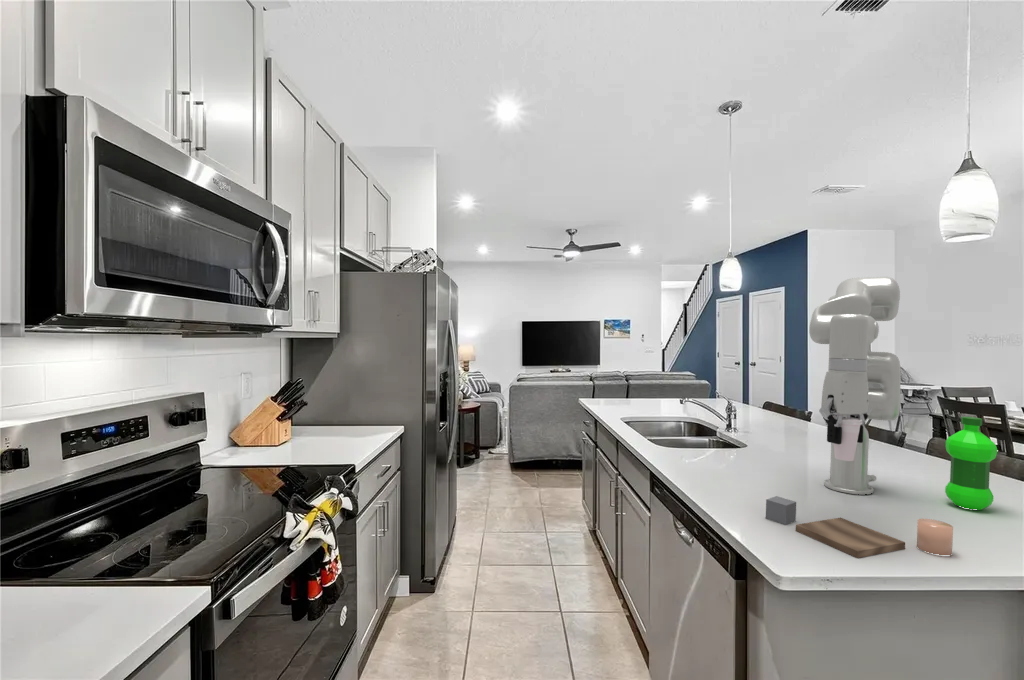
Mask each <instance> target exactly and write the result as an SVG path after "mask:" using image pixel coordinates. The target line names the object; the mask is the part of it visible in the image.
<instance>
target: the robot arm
mask: <svg viewBox="0 0 1024 680" xmlns="http://www.w3.org/2000/svg"><path fill="white" fill-rule="evenodd" d="M900 290H901V289H900V286H899V284H898V282H897V281H896V279H894V278H892V277H890V276H876V277H875V276H874V277H872V276H871V277H869V276H868V277H851V278H847V279H845V280H843V281H841V282H840V283H839V284H838V285H837V287H836V290H835V294H834V295H833V296H831V297H829V298H828V301H826V302H823V303H821V304H819V305H818V306H816V307H815V308H814V310H813V312H812V315H811V318H810V322H809V331H808V332H809V333H808V334H809V336H810V339H811V340H812V342H814V343H816V344H819V345H828V348H829V349H828V367H827V368H828V371H826V373H825V376H824V380H823V385H822V391H821V392H822V393H821V401H820V404H821V407H820V409H819V413H820V415H821V416H822V417H823V418H822V419H823V420H824V422H825V425H826V426H827V428H826V429H827V432H826V442H828V443H830V463H829V465H830V467H829V468H830V469H829V470H830V471H829V478H826V479H825V480H824V481H823V485H824V486H825V487H826V488H828V489H830V490H833V491H837V492H841V493H844V494H851V495H858V494H859V495H860V496H862V495H863V496H865V494H867V495H872V494H874V488H873V487H872V486H870V485H869V483H870V482H875V481H877V475H875V474H868V473H869V471H868V469H869V442H870V437H869V436H870V435H869V431H868V429H867V428H866V421H867V420H874V421H875V420H876V421H887V422H889V421H891V422H892V421H894V420H897V419H898V417H899V416H900V411H901V381H902V380H901V379H902V378H901V377H902V375H901V363H900V360H899V357H898V356H897V355H896V354H895V353H892V352H889V351H888V352H886V351H871V349H870V347H871V344H872V343H873V342H874V341H875V340H876V339H877V338H878V336H879V332H880V331H879V323H878V322H888V321H889V322H890V321H892V320H894V319H895V318H896V317H897V315H898V312H899V306H900V299H901V291H900ZM870 383H871V384H877V385H880V387H869V384H870ZM847 415H850V417H853V418H858V419H861V420H862V424H861V425H860V430H859V435H858V440H857V445H856V451H855V456H854V461H844V460H839V459H836V458H835V453H834V444H833V443H835V444H841V442H842V427H839V426H840V424H841V421H842V418H843V416H844V417H847ZM833 416H837V417H836V420H835V419H834V417H833ZM871 493H872V494H871Z"/></svg>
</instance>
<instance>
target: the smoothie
mask: <svg viewBox="0 0 1024 680" xmlns="http://www.w3.org/2000/svg"><path fill="white" fill-rule="evenodd" d="M833 417H834V419H835V420H836V417H837V416H833ZM861 424H862V420H861V419H858V418H853V417H850V415H847V417H844V416H843V418H842V421H841V424H840V426H839V427H842V442H841V444H835V443H833V444H834V453H835V458H836V459H839V460H844V461H854V456H855V451H856V445H857V440H858V435H859V430H860V425H861Z"/></svg>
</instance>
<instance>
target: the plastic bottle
mask: <svg viewBox="0 0 1024 680" xmlns="http://www.w3.org/2000/svg"><path fill="white" fill-rule="evenodd" d="M960 424H961V425H963V429H962V430H959V431H957V432H955V433H953V434H952V435H950V436H948V437H947V439H946V440H945V442H944V443H945V450H946V452H947V454H949V456H950V471H949V472H950V474H949V482H948V483H947V484H946V485H945V489H944V492H945V495H946V497H947V498H948V499H949V500H950V502H951V503H953V504H954V505H955V506H956V505H958V506H961V507H964V508H969V509H977V510H980V511H982V510H983V509H985V508H988V507H990V506H991V505H992V504H993V503H994V494H993V492H992V490H991V488H990V475H991V474H990V467H991V462H992V461H993V460H995V459H996V458H997V455H998V448H997V445H996V443H995V442H993V440H991V439H990V438H989V437H988V436H987V435H985V434H984V433H983V432H981V430H980V427H981V426H983V418H980V417H975V416H961V418H960Z"/></svg>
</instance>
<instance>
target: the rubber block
mask: <svg viewBox="0 0 1024 680" xmlns="http://www.w3.org/2000/svg"><path fill="white" fill-rule="evenodd" d="M765 519H766V520H769V521H772V522H776V523H779V524H781V525H784V526H787V525H790V524H792V523H794V521H795V522H796V521H797V501H795V500H791V499H788V498H784V497H781V496H778V495H776V496H772V497H769V498H767V499H765Z"/></svg>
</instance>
